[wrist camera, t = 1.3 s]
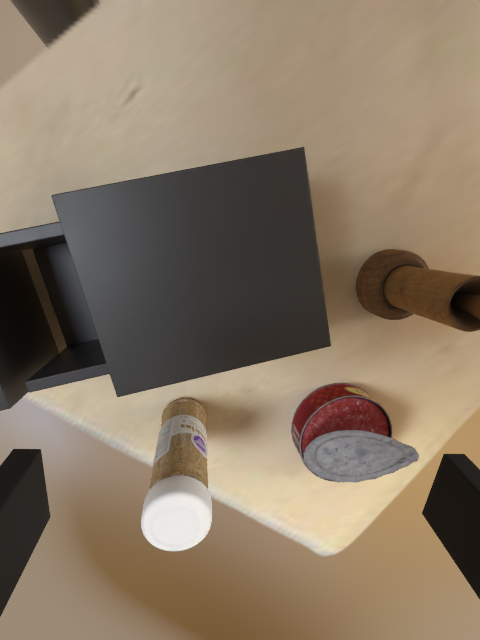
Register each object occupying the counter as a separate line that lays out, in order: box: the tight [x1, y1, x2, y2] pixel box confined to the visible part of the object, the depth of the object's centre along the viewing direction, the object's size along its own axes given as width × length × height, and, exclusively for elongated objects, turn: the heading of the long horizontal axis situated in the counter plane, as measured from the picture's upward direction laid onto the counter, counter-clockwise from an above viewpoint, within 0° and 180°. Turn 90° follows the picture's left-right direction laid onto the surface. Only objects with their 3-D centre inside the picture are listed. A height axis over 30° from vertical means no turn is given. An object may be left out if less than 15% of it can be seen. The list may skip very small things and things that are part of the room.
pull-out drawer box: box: [0, 222, 110, 411], centre depth 25 cm, size 15×11×9 cm
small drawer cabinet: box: [52, 147, 331, 397], centre depth 26 cm, size 15×13×11 cm
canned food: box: [291, 383, 419, 482], centre depth 34 cm, size 11×10×10 cm
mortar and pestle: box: [356, 250, 480, 332], centre depth 25 cm, size 7×6×18 cm
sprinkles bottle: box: [141, 398, 212, 551], centre depth 28 cm, size 5×5×13 cm
